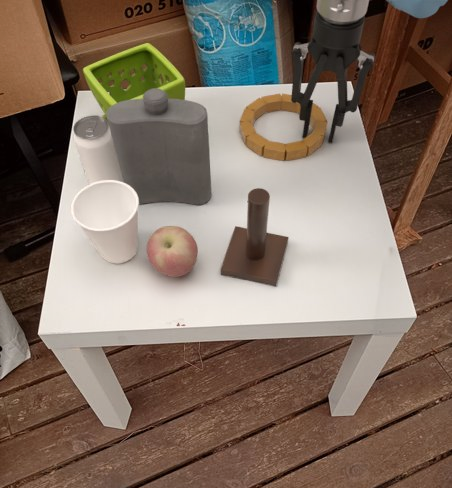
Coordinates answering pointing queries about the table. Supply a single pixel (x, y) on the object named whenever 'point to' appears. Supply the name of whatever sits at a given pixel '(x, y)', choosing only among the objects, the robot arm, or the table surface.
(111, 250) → the cup
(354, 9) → the robot arm
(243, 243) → the peg stand
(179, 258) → the apple
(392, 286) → the table surface
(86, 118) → the can
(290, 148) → the hoop
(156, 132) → the flask
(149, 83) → the flower pot
